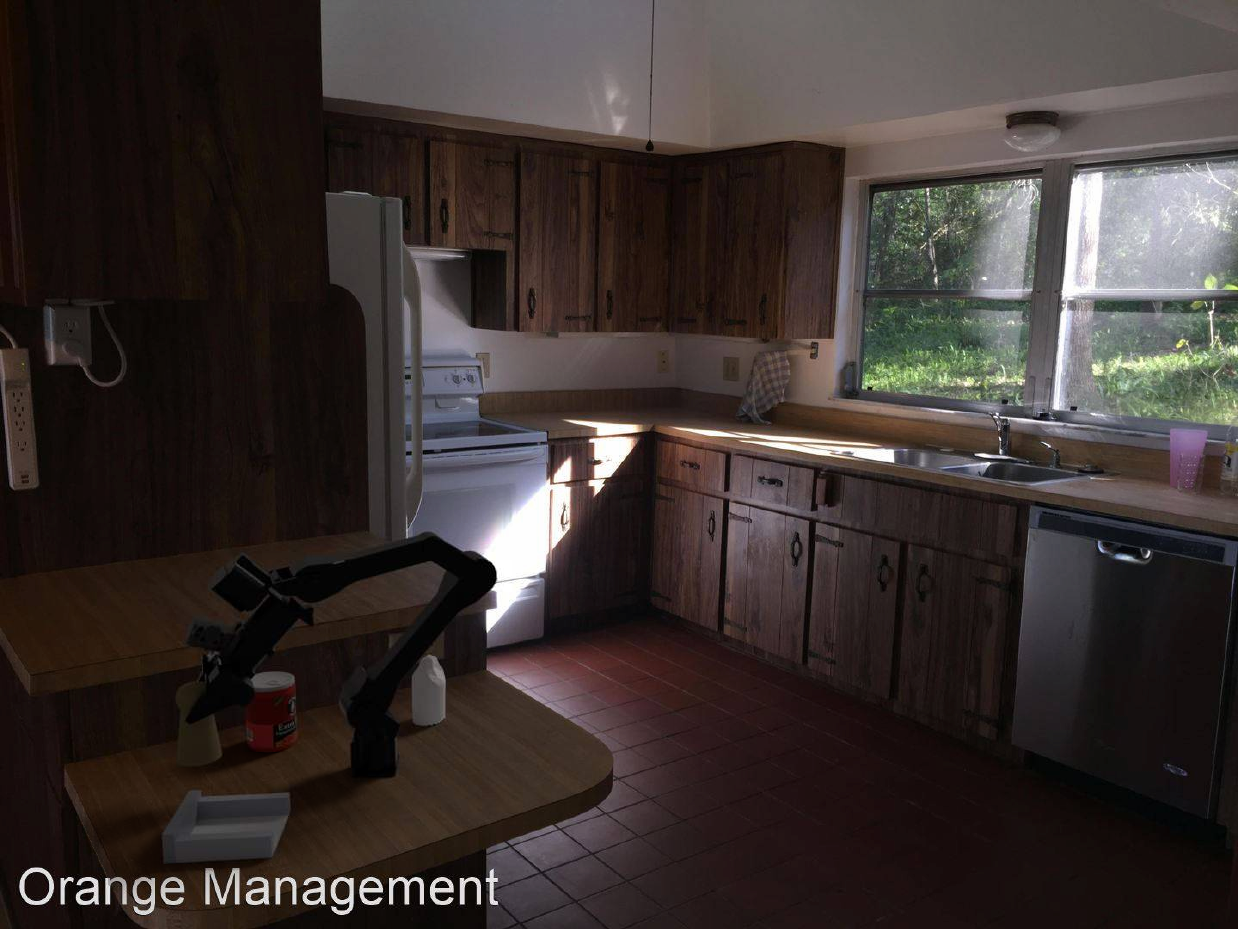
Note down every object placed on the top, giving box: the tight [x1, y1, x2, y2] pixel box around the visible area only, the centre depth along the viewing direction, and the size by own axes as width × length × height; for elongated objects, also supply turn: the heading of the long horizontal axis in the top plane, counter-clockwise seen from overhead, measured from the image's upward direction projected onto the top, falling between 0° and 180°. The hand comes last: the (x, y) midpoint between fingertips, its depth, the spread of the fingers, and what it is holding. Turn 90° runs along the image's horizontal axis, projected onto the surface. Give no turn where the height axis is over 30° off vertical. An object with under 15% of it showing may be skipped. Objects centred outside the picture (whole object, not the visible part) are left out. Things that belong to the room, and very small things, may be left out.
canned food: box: [244, 671, 298, 753], centre depth 165 cm, size 8×8×11 cm
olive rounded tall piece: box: [175, 681, 223, 768], centre depth 145 cm, size 6×6×11 cm
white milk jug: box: [411, 654, 447, 727], centre depth 175 cm, size 6×12×6 cm
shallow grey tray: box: [161, 789, 291, 865], centre depth 136 cm, size 14×12×4 cm
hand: (186, 715), depth 144 cm, fingers closed on olive rounded tall piece, 5 cm apart
